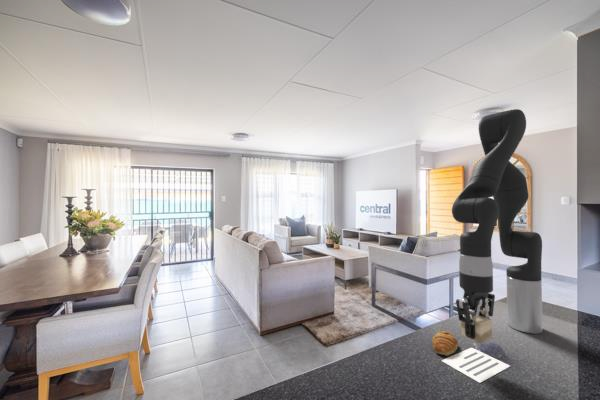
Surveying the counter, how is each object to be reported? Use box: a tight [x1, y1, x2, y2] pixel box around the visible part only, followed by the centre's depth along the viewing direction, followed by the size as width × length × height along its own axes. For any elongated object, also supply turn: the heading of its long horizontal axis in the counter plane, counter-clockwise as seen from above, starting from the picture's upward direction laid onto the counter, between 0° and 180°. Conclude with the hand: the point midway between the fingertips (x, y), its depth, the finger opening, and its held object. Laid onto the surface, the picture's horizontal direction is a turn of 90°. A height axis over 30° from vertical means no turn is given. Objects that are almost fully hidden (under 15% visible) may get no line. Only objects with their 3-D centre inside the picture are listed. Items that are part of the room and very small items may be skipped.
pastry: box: [431, 330, 459, 357], centre depth 78 cm, size 9×7×4 cm
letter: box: [440, 347, 511, 384], centre depth 71 cm, size 14×10×1 cm
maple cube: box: [460, 314, 493, 344], centre depth 70 cm, size 5×5×5 cm
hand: (476, 334), depth 70 cm, fingers closed on maple cube, 5 cm apart
